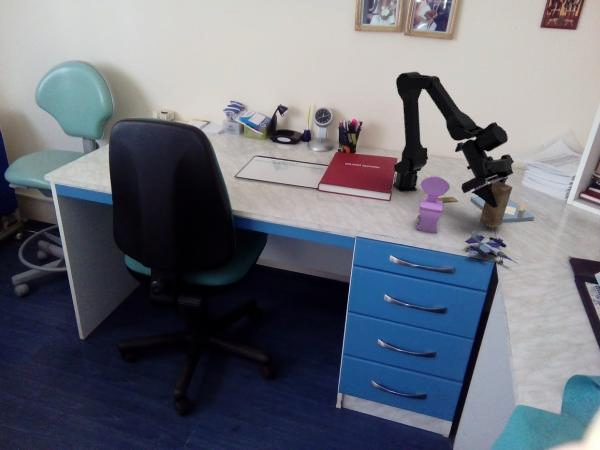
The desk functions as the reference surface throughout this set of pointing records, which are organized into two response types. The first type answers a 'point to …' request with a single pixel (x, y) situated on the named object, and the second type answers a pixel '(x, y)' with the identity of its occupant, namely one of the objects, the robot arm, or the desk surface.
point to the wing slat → (447, 199)
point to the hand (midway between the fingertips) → (500, 205)
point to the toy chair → (431, 203)
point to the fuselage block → (501, 196)
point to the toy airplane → (487, 246)
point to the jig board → (508, 210)
